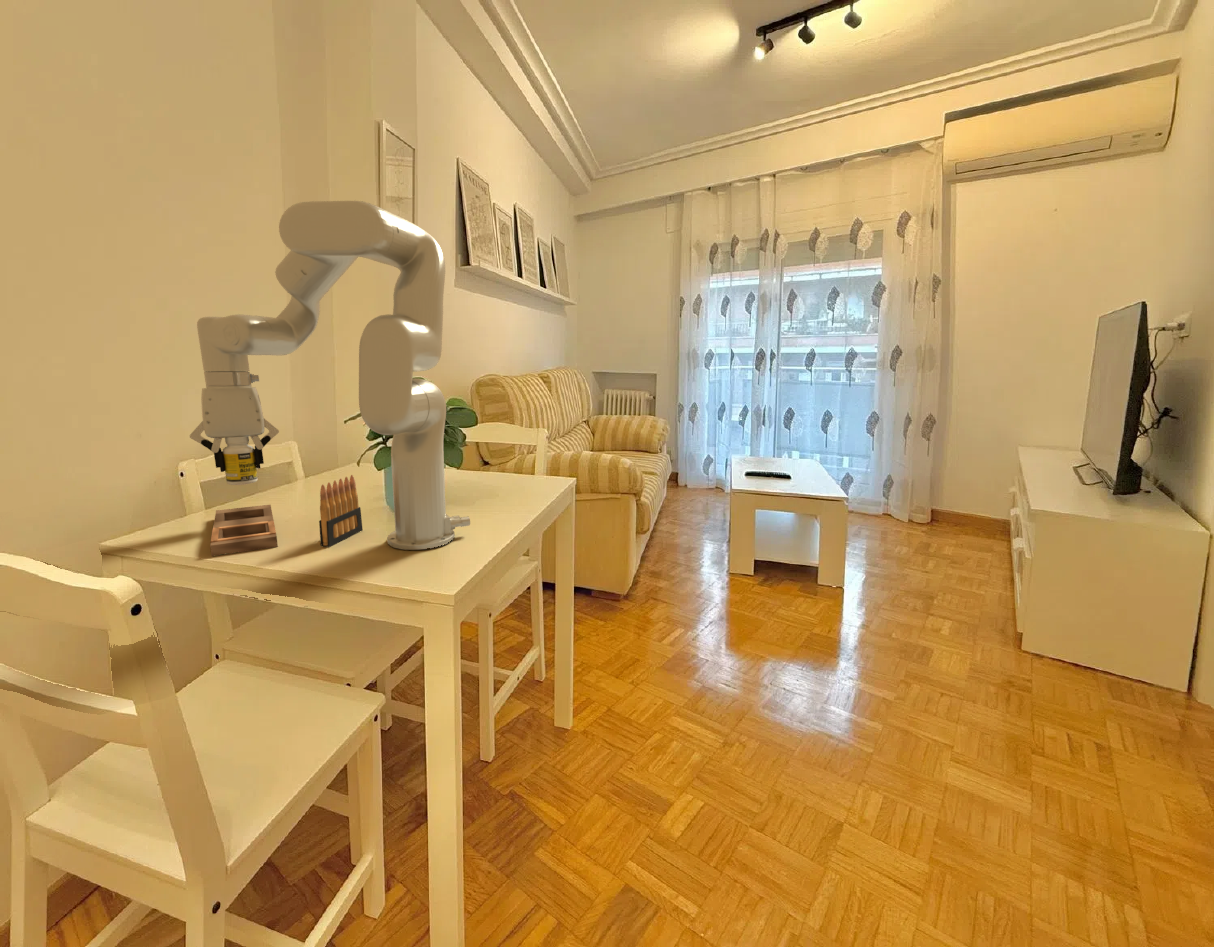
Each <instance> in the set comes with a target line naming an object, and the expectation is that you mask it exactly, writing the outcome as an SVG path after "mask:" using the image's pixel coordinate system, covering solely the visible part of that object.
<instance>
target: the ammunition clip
mask: <svg viewBox="0 0 1214 947" xmlns="http://www.w3.org/2000/svg"><path fill="white" fill-rule="evenodd" d="M356 485H357V483H356V480H355V477H354V475H353V474H351V475H350V477H349V478H348V477H347V476H345V478H344V480H343V479H342V478H339V481H338V482H337V481H336V480H333V483H332V484H331V482H328V483H327V485H326V487H325V484H324V483H323V484H321V487H320V490H319V492H320V493H319V497H320V498H319V499H320V502H319V504H320V505H319V512H320V520H319V521H318V523H319V524H318V525H319V537H320V538H319V539H320V541H319V542H320V546H321V547H325V548H331V547H333V546H335V545H337V544H339V543H341V542H343V541H344V540H345V541H346V540H347V539H350V538H351V537H352V536H354V535H356V534H358V533H361V532H363V520H362V510H361V509H362V508H361V507H360V506H359V495H358V493H357V486H356ZM360 531H361V532H360Z"/></svg>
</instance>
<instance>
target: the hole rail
mask: <svg viewBox="0 0 1214 947" xmlns="http://www.w3.org/2000/svg"><path fill="white" fill-rule="evenodd" d="M278 545H279V544H278V538H277V531H276V525H275V520H274V516H273V510H272V505H271V504H265V505H254V506H244V507H243V506H242V507H237V508H235V507H234V508H228V509H226V508H224V509H217V510H215V515H214V521H213V528H212V531H211V537H210V545H209V548H210V552H211V554H210V555H211V557H215V556H214V555H217V556H221V555H220V554H224V555H226V554H225V553H231V554H235V553H234V552H238V553H243V552H250V551H256V550H257V551H259V550H265V549H270V548H277V547H279V546H278Z"/></svg>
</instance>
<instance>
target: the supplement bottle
mask: <svg viewBox="0 0 1214 947" xmlns="http://www.w3.org/2000/svg"><path fill="white" fill-rule="evenodd" d="M249 437H250V436H247V437H230V438H224V442H225V444H226V446H225V447H224V448H223V449H222V451H223V459H224V466H225V471H224V473H225V480H226V484H228V485H231V486H240V485H241V486H242V485H249V484H254V483H256V482H257V481H258V478H259V477H258V471H257V469H258V468H256V461H255V454H254V449H255V447H253V446H251V445H249V443H250V439H249Z"/></svg>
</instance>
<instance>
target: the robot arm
mask: <svg viewBox="0 0 1214 947" xmlns="http://www.w3.org/2000/svg"><path fill="white" fill-rule="evenodd" d="M278 232H279V235H280V239H281V240H282V242H283V244H284V245H285V246H286V248H288V249H289V250H290V251H289V252H288V254H286V256H284V258H283V259H282V260H281V261H280V263H279V264H277V266H276V268H275V271H274V273H275V276H276V277H275V278H276V280H277V281H278V283H279V284H280V286H281V287H282V288H283V289H284V290H285V291H286V292H287V293H288V294H289V295H290V296H291V298H290V299H289V303H287V305H286V306H285V307H284V309H283V310H282V311H281V312H280V313H279V315H277V317H271V316H263V315H251V314H239V313H238V314H230V315H227V316H226V315H225V316H204V317H200V318H198V320H197V322H196V329H197V335H198V342H199V348H200V349H199V350H200V355H201V362H202V368H203V369H202V370H203V374H204V382H205V388H204V387H203V388H201V416H202V421H201V422H199V424H198V426H196V427H195V429H194V430H193V431H192V432H191V433H190V434H189V438H190V439H191V440H194V441H195V442H197V443H199V444H200V445H202V446H203V447H205V448H206V449H208V450H210V451H211V452H212V453H213V456H214V463H215V468H217V469H218V468H219V470H220V473H223V472H224V473H225V466H224V459H223V450H222V448H221V444H222V440H223V439H225V438H230V437H247V436H248V437H250V438H251V441H252V442H253V444H254V454H255V461H256V469H261V465H263V464H265V463H264V462H265V461H264V455H263V449H264V447H265V446H266V445H267V444H269V442H270V441H271V440H272V439H274V438H275V436H277V435H278V434H279V433H280V430H279V429H278V428H277V427H276V426H275V425H273V424H272V423H271V422H269V421H268V420H267V419H266V418H264V415H263V413H264V412H263V408H262V404H261V399H260V395H259V392H258V390H257V387H256V386H255V387H253V386H252V384H253V383H255V382H260V376H259V374H253V373H250V366H249V365H250V363H249V356H277V357H278V356H287V355H290V354H292V353H294V352H296V351H297V350H299V348H301V346H302V345H303V344H304V343H306V341H307V340H308V338H310V336H312V334H313V333H314V331H315V330H316V328H317V325H318V323H319V319H320V313H321V310H320V309H321V307H320V306H321V304H320V303H321V300H322V299H323V298H324V297H325V296H326V294H328V292H329V291H330V290H331V288H332V287H333V286H334V285H335V284H336V283H337V282H338V281H339V279H341V277H343V275H344V274H345V273H346V271H347V270H348V269H349V268H350V267H351V266H352V264H354V263H355V261H356V260H357V259H358V258H363V259H368V260H371V261H374V262H378V263H380V264H384V265H388V266H391V267H394V268H397V269H398V270H399V271H400V274H399V276H398V277H397V280H396V282H395V284H394V288H393V308H392V314H390V313H389V314H381V315H378V316H376V317H374V318H373V319H371V320H370V321H369V322H368V323H367V324H366V325H365V327H364V329H363V331H362V333H361V336H360V340H359V347H358V348H359V349H358V406H359V407H358V408H359V412H360V416H361V418H362V420H363V422H364V423H365V425H366V426H367V427H368V428H369V429H370V430H371V431H373V432H374V433H376V434H380V435H383V436H393V437H392V441H391V446H390V447H391V448H390V449H391V450H390V456H391V457H390V458H391V465H390V466H391V480H392V494H393V495H392V496H393V512H394V526H395V528H394V529H395V530H393V531H392V532H390V533H389V534H388V535H387V538H386V539H387V544H388V545H389V546H391V547H392V548H395V549H399V550H404V551H405V550H406V551H407V550H408V551H409V550H410V551H420V550H428V549H427V548H430V549H435V548H438V546H439V547H442V546H444V545H443V544H445V545H447V544H449V543H450V542H449V541H451V540H452V541H454V539H455V537H454V536H456V534H455V529H456V528H458V527H459V528H462V527H463V528H464V527H468V526H470V525H471V519H470V516H468V515H467V516H463V517H461V516H460V515H454V516H453V515H452V516H449V515H448V514H447V513H446V512H447V510H446V496H445V495H446V489H445V488H446V486H445V485H446V484H445V483H446V482H445V461H444V459H445V458H444V457H445V456H444V455H445V454H444V434H445V426H446V419H447V418H446V417H447V403H446V398H445V396H444V393H443V391H442V390H441V389H440V388H439V387H438V386H437V385H436V384H435V383H433V382H432V381H430V380H427V379H423V378H415V377H414V378H413V373H416V372H424V371H429V370H432V369H433V368H435V367H436V366H437V365H438V364H439V362H440V360H441V356H442V351H443V350H442V348H443V347H442V345H443V321H444V320H443V319H444V291H445V290H444V289H445V280H446V261H445V255H444V253H443V250H442V248H441V246H440V244H439V243H438V242H437V239H435V237H434V236H432V235H431V234H430V233H429V232H427V231H426V230H425V229H423V228H422V227H420V226H418V225H417V224H415V223H413V222H412V221H410V220H407V219H406V218H403V217H402V216H399V215H397V214H395V213H393V212H391V211H389V210H386V209H384V208H382V207H380V206H377V205H375V204H372V203H370V202H366V201H363V200H362V201H361V200H360V201H359V200H316V201H315V200H313V201H302V202H301V201H300V202H297V203H295V204H292V205H290V206H289V207H288V208H287V209H285V211H283V214H282V215H281V218H280V220H279V222H278ZM265 428H266V429H267V430H268V432H267V433H266V434H265V435H264V436H263V437H262V438H261V439H260V436H261V435H262V434H264V432H265ZM203 432H204V434H205V436H206V437H208V438H211V439H213V441H211V440H209V439H207V438H205V437H204V436H202V433H203ZM453 538H454V539H453ZM452 541H451V542H452ZM448 542H449V543H448ZM441 545H442V546H441ZM434 547H435V548H434Z"/></svg>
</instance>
